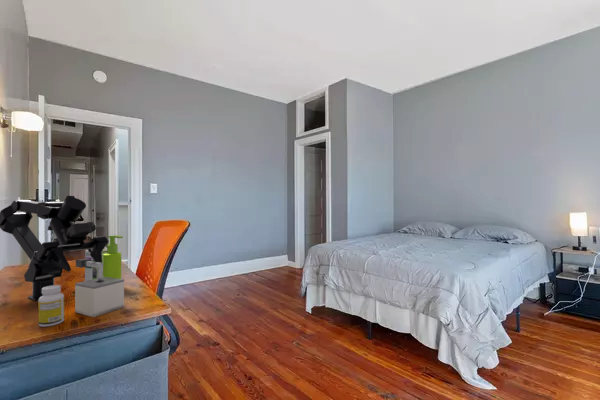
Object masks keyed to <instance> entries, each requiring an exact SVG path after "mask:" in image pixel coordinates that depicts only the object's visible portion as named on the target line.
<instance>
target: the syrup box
mask: <svg viewBox="0 0 600 400" xmlns="http://www.w3.org/2000/svg"><path fill="white" fill-rule="evenodd" d="M84 253H85V254H84V255H85V256H84V258H86V259H91V261H92V262H95V260H94V259H93V258H92V257H91V256H90V252H89V251H88V249H84ZM106 253H107V248H104V249H103V251H102V263H103V254H106ZM97 278H98V268H97V267H90V266H88V267H84V281H88V280H93V279H97Z"/></svg>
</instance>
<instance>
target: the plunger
mask: <svg viewBox="0 0 600 400" xmlns="http://www.w3.org/2000/svg"><path fill="white" fill-rule="evenodd" d="M88 266H90V267H97V268H98V283H100V282H103V263H100V262H92V261H91V259H86V258H85V257H84V258H80V259H75V268H81V269H82V268H85V267H88Z"/></svg>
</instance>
